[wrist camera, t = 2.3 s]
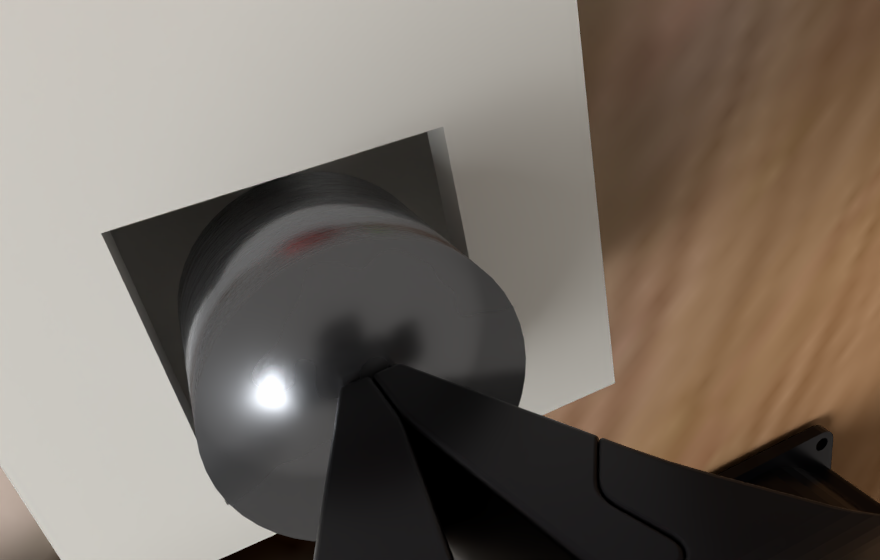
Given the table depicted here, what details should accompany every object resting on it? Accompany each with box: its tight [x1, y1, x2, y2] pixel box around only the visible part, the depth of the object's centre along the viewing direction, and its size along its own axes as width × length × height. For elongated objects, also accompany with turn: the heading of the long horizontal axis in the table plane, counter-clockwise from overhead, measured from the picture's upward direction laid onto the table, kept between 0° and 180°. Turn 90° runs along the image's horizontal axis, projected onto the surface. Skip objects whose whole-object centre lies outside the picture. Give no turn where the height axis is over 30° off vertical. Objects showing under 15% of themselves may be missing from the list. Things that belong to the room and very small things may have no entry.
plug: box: [178, 172, 526, 541], centre depth 11 cm, size 4×4×3 cm
